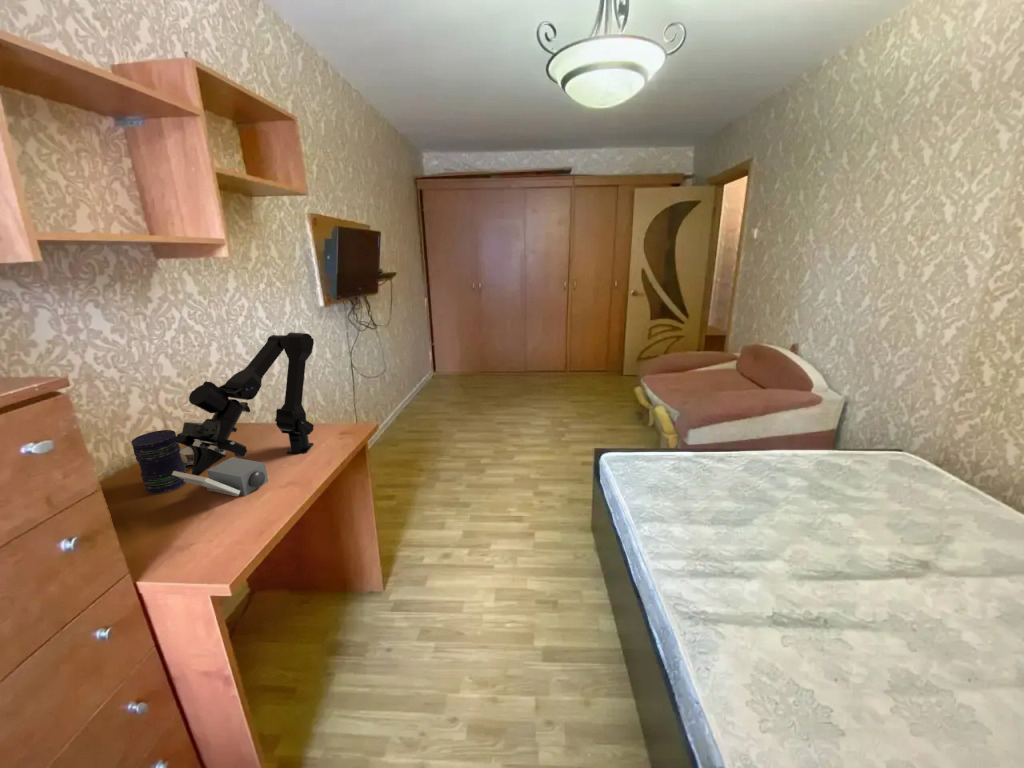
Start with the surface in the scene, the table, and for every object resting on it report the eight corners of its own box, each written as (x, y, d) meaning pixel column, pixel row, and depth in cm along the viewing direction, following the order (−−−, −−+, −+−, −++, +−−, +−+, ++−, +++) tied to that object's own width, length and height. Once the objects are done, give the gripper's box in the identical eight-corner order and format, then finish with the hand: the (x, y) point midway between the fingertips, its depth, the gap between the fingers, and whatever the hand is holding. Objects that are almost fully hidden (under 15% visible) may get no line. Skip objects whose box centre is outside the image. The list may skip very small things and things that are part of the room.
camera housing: (236, 475, 130) (232, 457, 128) (271, 482, 126) (268, 463, 125) (211, 488, 123) (207, 470, 121) (248, 496, 119) (244, 477, 117)
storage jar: (177, 492, 121) (163, 443, 116) (137, 495, 119) (121, 446, 114) (195, 474, 130) (183, 428, 125) (158, 477, 128) (144, 431, 124)
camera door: (211, 485, 122) (173, 470, 111) (242, 491, 119) (206, 477, 108) (207, 491, 121) (169, 477, 111) (238, 497, 118) (202, 484, 108)
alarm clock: (220, 439, 147) (207, 451, 133) (223, 453, 147) (209, 466, 133) (181, 444, 143) (162, 457, 129) (183, 458, 144) (165, 473, 130)
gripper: (172, 403, 113) (138, 460, 107) (228, 412, 108) (196, 472, 102) (207, 420, 123) (177, 473, 116) (259, 429, 118) (231, 485, 111)
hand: (194, 476), depth 111 cm, fingers closed, pressing on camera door
